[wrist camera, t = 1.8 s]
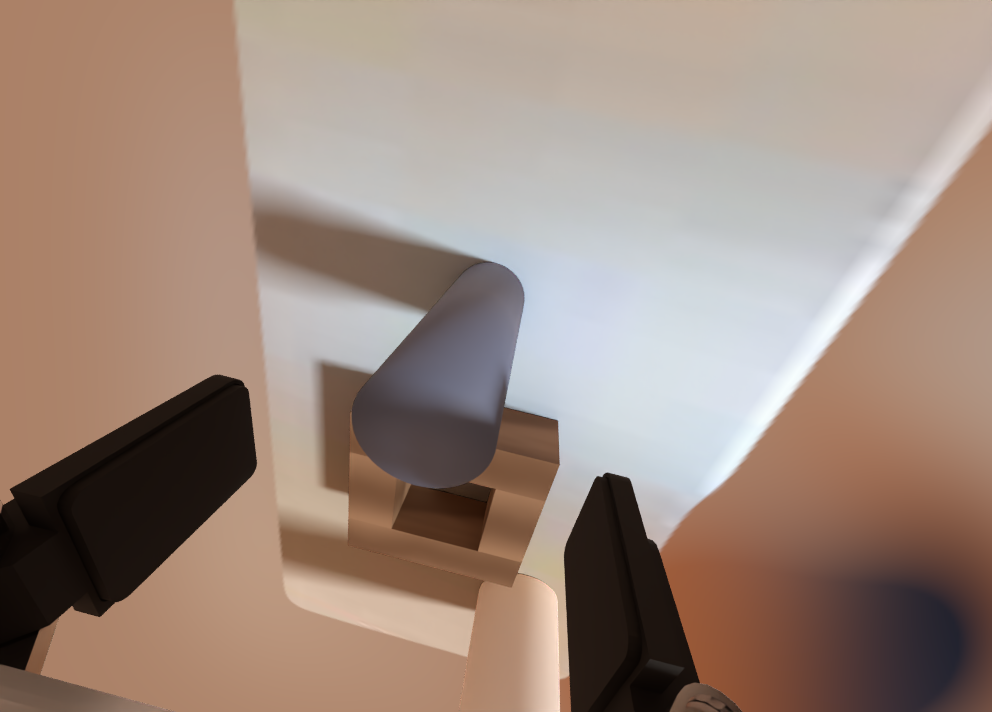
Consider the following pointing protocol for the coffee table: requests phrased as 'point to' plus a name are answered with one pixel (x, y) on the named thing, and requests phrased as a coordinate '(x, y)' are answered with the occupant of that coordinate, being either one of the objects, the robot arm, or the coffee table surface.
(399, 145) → the coffee table surface
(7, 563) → the robot arm
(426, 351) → the peg
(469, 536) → the socket block
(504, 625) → the cylindrical container
